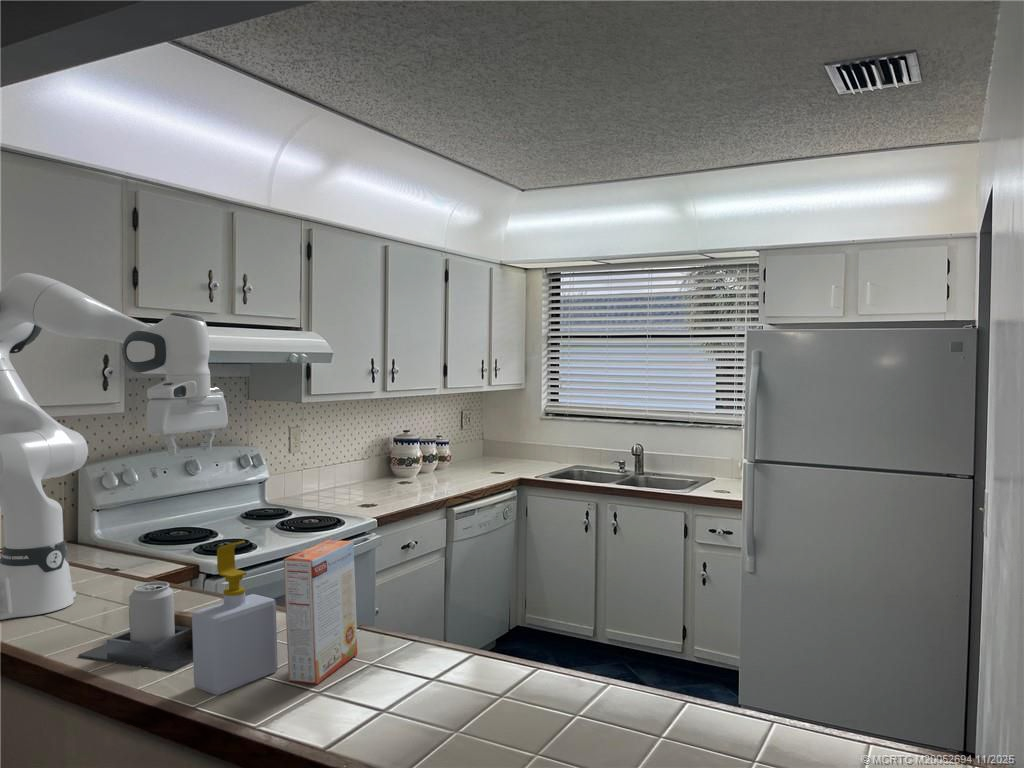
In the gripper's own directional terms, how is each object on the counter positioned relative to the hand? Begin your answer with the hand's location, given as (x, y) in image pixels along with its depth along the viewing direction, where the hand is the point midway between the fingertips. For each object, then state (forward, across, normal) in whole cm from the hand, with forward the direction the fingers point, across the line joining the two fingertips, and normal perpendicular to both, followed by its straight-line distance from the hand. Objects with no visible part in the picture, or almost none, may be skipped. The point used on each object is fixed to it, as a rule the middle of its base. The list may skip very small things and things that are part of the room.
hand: (190, 452), depth 170 cm
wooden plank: (+34, +16, +11) cm, 39 cm away
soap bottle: (+34, +28, +35) cm, 56 cm away
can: (+34, +22, +11) cm, 42 cm away
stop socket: (+34, +22, +11) cm, 42 cm away
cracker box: (+34, +19, +46) cm, 60 cm away
